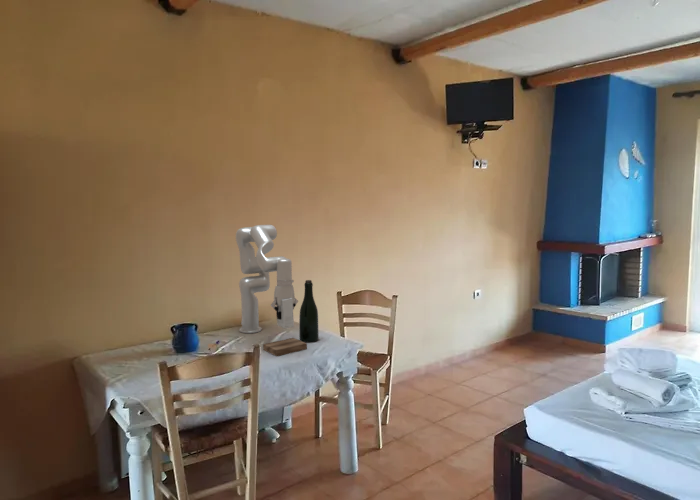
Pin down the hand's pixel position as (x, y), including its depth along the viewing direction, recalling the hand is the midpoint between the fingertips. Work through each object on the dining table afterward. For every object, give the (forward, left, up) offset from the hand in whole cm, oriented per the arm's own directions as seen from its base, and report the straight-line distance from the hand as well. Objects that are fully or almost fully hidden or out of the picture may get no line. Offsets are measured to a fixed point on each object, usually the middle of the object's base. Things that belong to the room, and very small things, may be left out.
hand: (284, 317), depth 264 cm
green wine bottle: (-6, +19, -17) cm, 26 cm away
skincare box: (0, 0, -5) cm, 5 cm away
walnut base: (0, 0, -17) cm, 17 cm away
